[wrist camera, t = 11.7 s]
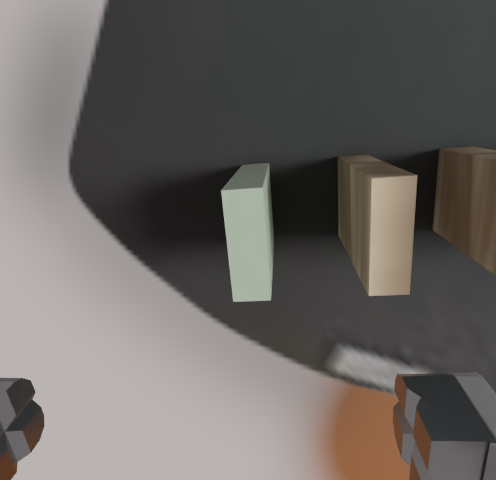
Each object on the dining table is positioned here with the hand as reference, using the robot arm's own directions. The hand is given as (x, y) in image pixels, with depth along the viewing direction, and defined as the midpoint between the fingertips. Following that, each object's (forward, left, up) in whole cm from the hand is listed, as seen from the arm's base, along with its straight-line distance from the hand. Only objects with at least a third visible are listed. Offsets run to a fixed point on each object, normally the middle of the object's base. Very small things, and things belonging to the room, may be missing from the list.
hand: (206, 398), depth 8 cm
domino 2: (0, +14, -20) cm, 25 cm away
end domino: (0, 0, -20) cm, 20 cm away
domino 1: (0, +7, -20) cm, 22 cm away
